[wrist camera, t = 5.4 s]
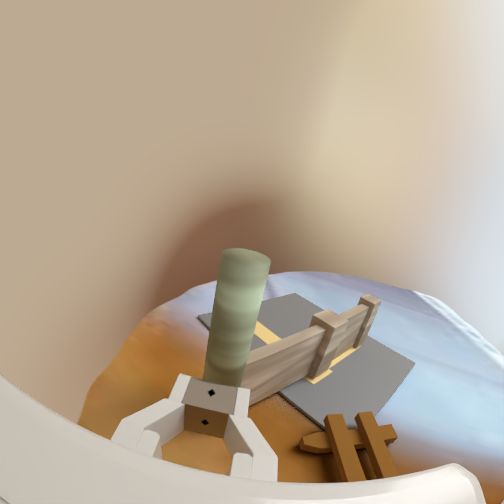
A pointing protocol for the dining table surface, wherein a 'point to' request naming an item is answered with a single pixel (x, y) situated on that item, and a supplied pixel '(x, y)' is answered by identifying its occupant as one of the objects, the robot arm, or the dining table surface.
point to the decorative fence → (354, 445)
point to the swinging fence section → (243, 326)
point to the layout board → (340, 371)
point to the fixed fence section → (358, 323)
